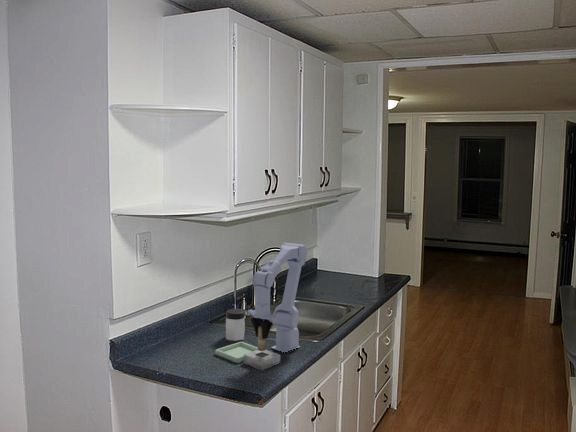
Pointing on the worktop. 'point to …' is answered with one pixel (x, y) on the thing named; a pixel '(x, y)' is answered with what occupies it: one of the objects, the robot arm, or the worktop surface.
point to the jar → (235, 324)
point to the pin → (261, 340)
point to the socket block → (261, 359)
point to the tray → (235, 351)
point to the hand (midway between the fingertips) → (261, 337)
